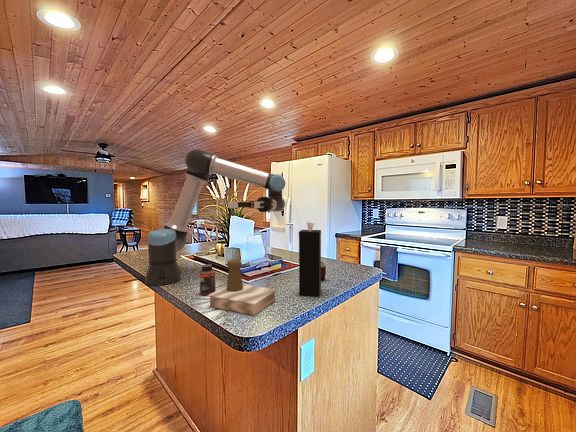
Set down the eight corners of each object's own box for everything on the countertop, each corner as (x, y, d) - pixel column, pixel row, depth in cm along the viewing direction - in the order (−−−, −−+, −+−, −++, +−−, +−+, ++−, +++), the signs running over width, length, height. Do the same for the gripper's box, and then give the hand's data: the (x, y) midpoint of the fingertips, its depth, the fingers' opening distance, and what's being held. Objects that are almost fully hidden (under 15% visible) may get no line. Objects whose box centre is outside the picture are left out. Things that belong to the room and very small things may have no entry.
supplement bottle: (216, 290, 108) (215, 263, 108) (214, 295, 102) (214, 266, 102) (201, 291, 107) (200, 263, 107) (198, 296, 101) (198, 267, 101)
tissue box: (319, 297, 100) (319, 223, 98) (298, 295, 101) (298, 223, 100) (321, 290, 107) (321, 221, 106) (301, 289, 109) (301, 221, 108)
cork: (241, 291, 94) (241, 261, 94) (224, 291, 94) (224, 261, 94) (244, 286, 101) (243, 257, 100) (228, 286, 100) (227, 257, 100)
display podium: (207, 306, 91) (207, 295, 91) (234, 293, 105) (234, 283, 105) (254, 316, 83) (254, 303, 83) (276, 300, 97) (276, 289, 97)
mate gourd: (326, 278, 125) (326, 246, 124) (325, 282, 117) (325, 249, 117) (310, 277, 127) (310, 246, 126) (308, 282, 119) (308, 249, 118)
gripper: (288, 212, 127) (266, 213, 107) (245, 211, 137) (218, 213, 118) (288, 196, 126) (266, 195, 107) (245, 197, 137) (218, 196, 118)
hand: (241, 204), depth 112 cm, fingers open, 13 cm apart
